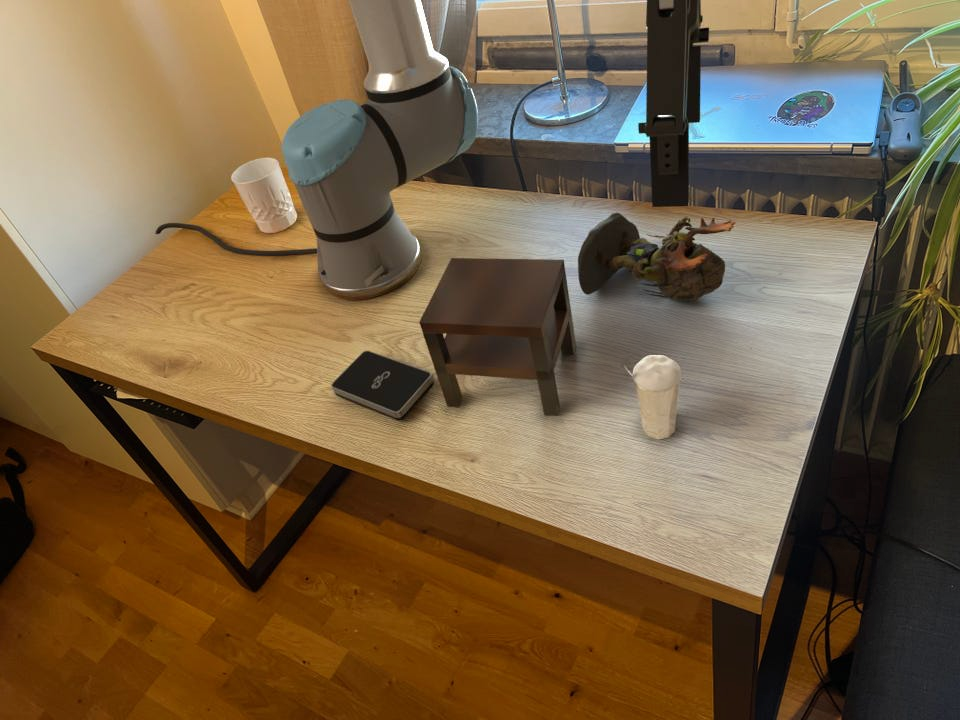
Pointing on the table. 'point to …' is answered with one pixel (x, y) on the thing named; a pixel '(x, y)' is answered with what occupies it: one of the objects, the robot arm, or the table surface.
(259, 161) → the white cup
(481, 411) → the table surface
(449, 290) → the small wooden side table
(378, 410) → the external hard drive
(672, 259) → the figurine
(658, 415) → the milkshake
